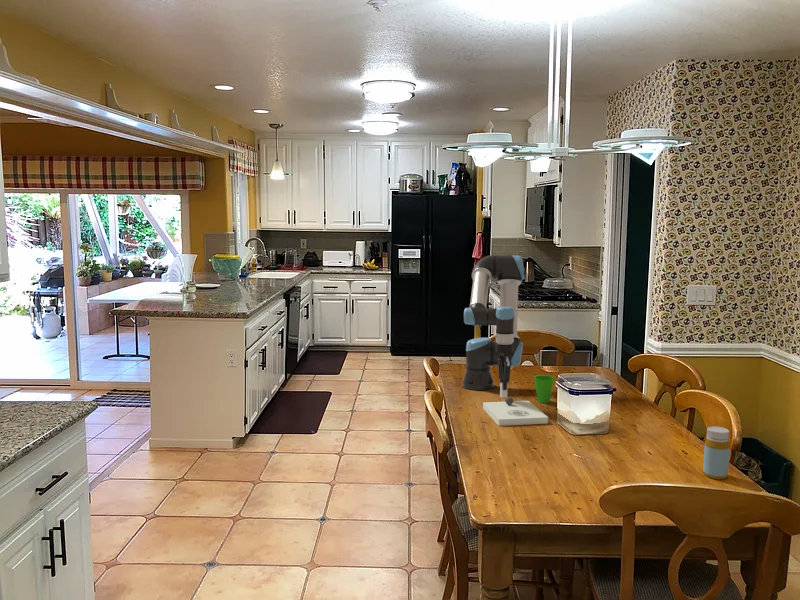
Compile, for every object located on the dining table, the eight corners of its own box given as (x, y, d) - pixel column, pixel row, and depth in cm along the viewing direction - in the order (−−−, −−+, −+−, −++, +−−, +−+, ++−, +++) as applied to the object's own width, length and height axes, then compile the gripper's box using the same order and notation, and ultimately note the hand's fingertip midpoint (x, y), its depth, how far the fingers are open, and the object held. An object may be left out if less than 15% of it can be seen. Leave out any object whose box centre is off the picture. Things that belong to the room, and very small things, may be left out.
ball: (504, 403, 275) (504, 396, 274) (511, 403, 275) (511, 396, 275) (506, 406, 271) (506, 398, 271) (514, 405, 272) (514, 398, 271)
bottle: (698, 472, 206) (701, 426, 205) (719, 471, 207) (722, 425, 205) (710, 480, 200) (713, 433, 198) (732, 479, 200) (735, 432, 198)
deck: (482, 408, 277) (483, 402, 277) (528, 406, 280) (528, 400, 279) (498, 425, 254) (498, 419, 253) (548, 423, 256) (548, 417, 256)
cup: (552, 399, 291) (553, 375, 289) (555, 404, 282) (556, 380, 281) (532, 398, 292) (532, 374, 290) (534, 404, 283) (534, 379, 281)
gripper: (491, 340, 284) (491, 393, 287) (500, 346, 271) (499, 401, 274) (508, 340, 285) (507, 392, 288) (517, 345, 272) (516, 400, 275)
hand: (503, 396), depth 281 cm, fingers closed
